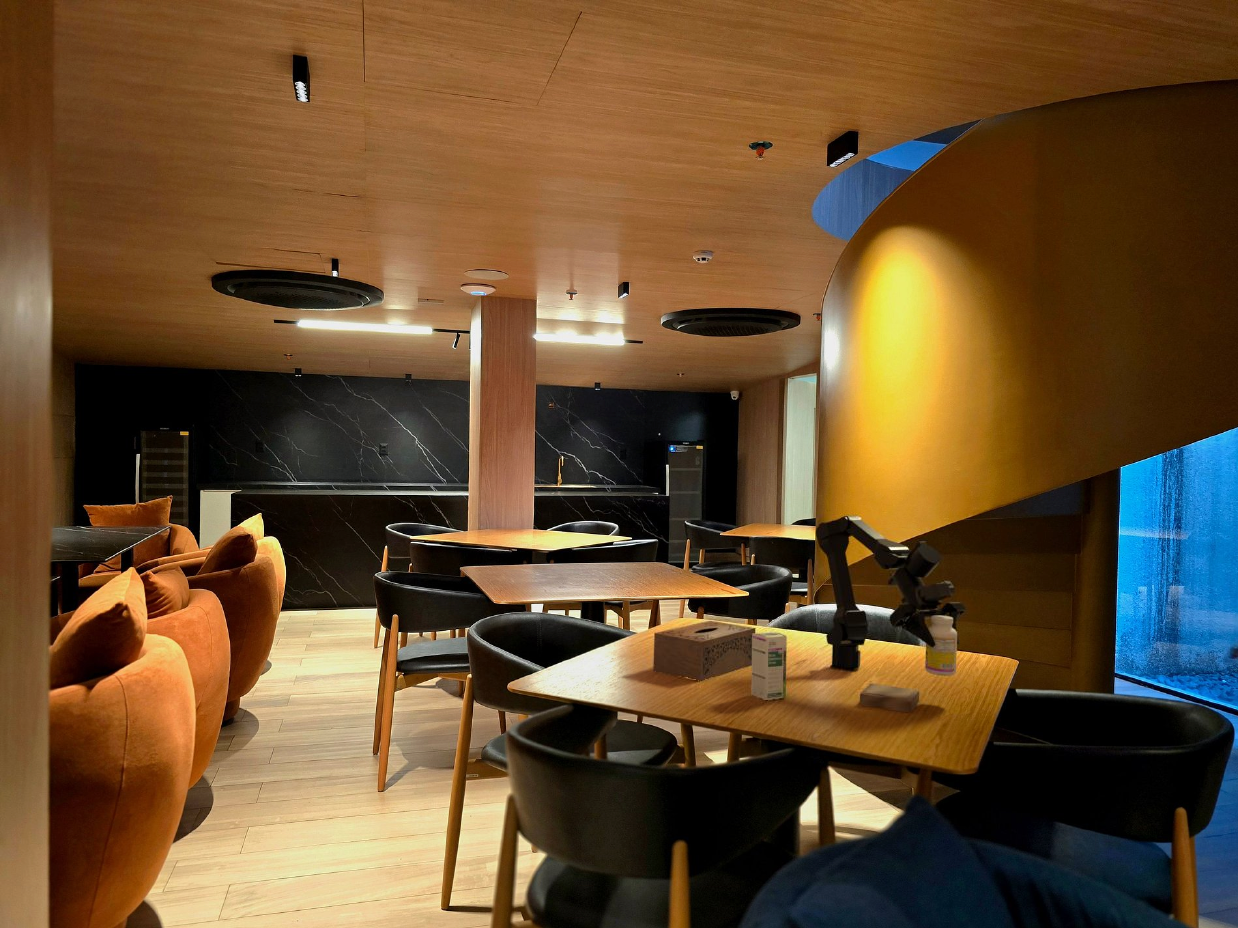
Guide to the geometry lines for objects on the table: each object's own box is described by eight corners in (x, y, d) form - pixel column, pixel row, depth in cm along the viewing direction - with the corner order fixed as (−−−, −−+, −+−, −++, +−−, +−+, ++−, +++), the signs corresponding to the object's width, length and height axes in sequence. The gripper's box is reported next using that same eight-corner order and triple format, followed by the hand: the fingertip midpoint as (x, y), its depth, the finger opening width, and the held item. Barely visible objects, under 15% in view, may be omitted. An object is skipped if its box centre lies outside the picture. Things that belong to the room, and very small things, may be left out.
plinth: (859, 704, 190) (860, 692, 190) (870, 693, 199) (870, 682, 199) (910, 712, 185) (911, 700, 185) (919, 701, 194) (919, 689, 194)
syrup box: (765, 701, 190) (767, 636, 190) (750, 694, 195) (751, 631, 196) (786, 698, 193) (787, 635, 193) (770, 692, 198) (771, 630, 198)
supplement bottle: (931, 667, 199) (933, 613, 199) (959, 673, 195) (962, 617, 195) (920, 672, 194) (922, 616, 194) (949, 678, 190) (952, 620, 190)
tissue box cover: (700, 682, 206) (701, 641, 206) (653, 672, 215) (654, 632, 215) (754, 665, 226) (755, 628, 226) (708, 656, 235) (710, 620, 235)
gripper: (899, 569, 194) (933, 627, 184) (961, 568, 201) (997, 623, 191) (875, 598, 201) (906, 655, 191) (936, 595, 209) (969, 650, 199)
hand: (945, 645), depth 193 cm, fingers closed on supplement bottle, 7 cm apart
